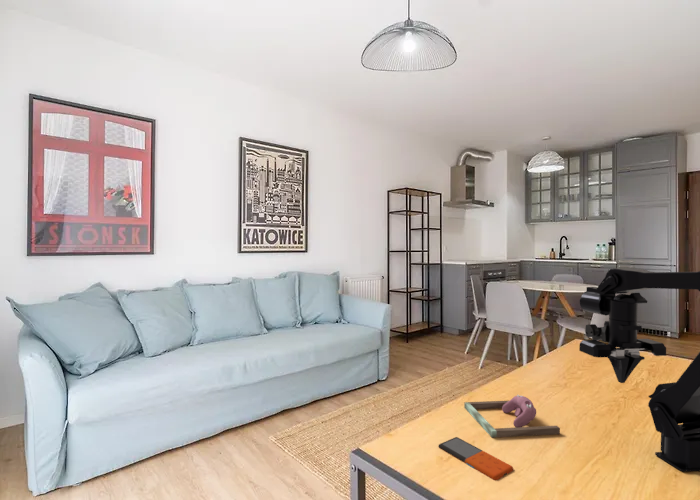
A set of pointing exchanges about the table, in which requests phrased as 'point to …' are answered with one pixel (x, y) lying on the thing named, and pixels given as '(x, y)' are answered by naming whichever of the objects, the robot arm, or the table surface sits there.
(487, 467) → the two-tone rubber eraser
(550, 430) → the u-shaped rail frame
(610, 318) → the robot arm
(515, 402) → the video game controller
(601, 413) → the table surface
